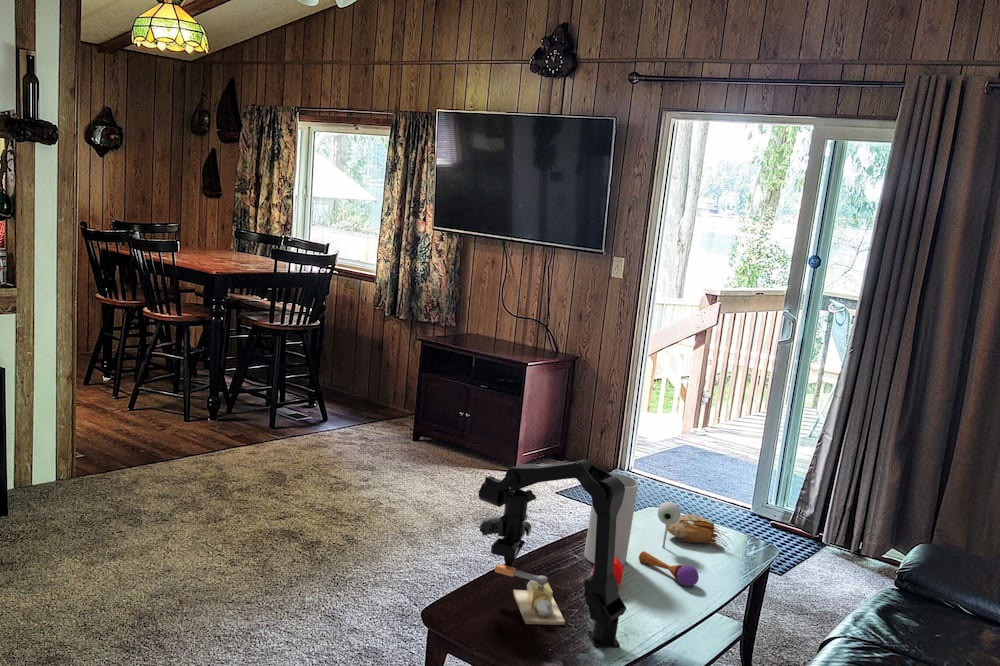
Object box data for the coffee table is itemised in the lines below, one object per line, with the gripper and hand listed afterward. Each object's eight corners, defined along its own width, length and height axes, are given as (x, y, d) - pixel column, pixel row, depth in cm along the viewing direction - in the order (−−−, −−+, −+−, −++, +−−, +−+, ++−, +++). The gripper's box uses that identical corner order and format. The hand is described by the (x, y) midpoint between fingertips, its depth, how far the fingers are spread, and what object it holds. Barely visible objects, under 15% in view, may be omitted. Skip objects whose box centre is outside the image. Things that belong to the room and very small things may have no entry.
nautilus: (736, 550, 280) (715, 563, 269) (678, 524, 293) (656, 535, 282) (741, 528, 278) (720, 540, 267) (683, 502, 291) (660, 513, 280)
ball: (620, 582, 244) (624, 556, 242) (619, 594, 236) (623, 568, 235) (592, 576, 245) (596, 551, 244) (590, 588, 237) (594, 562, 236)
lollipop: (650, 548, 270) (658, 503, 268) (653, 540, 277) (660, 496, 275) (673, 554, 269) (681, 508, 266) (675, 546, 275) (683, 501, 273)
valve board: (564, 624, 214) (564, 621, 214) (525, 623, 212) (526, 620, 212) (549, 594, 230) (549, 591, 230) (513, 593, 228) (513, 589, 228)
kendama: (651, 547, 262) (704, 569, 246) (646, 566, 262) (700, 589, 246) (638, 546, 258) (692, 569, 243) (634, 566, 258) (687, 589, 242)
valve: (554, 620, 215) (557, 596, 214) (534, 620, 214) (538, 595, 213) (541, 594, 228) (544, 571, 227) (523, 593, 227) (526, 570, 226)
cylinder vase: (625, 571, 251) (638, 490, 247) (582, 563, 252) (594, 482, 249) (625, 555, 263) (638, 477, 259) (585, 547, 265) (596, 470, 261)
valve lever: (547, 582, 221) (548, 576, 221) (545, 586, 218) (545, 580, 218) (497, 568, 225) (498, 562, 225) (494, 572, 223) (495, 566, 222)
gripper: (495, 494, 233) (488, 548, 236) (475, 518, 215) (467, 576, 218) (534, 503, 230) (527, 557, 233) (517, 527, 212) (510, 586, 215)
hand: (507, 568), depth 225 cm, fingers closed
